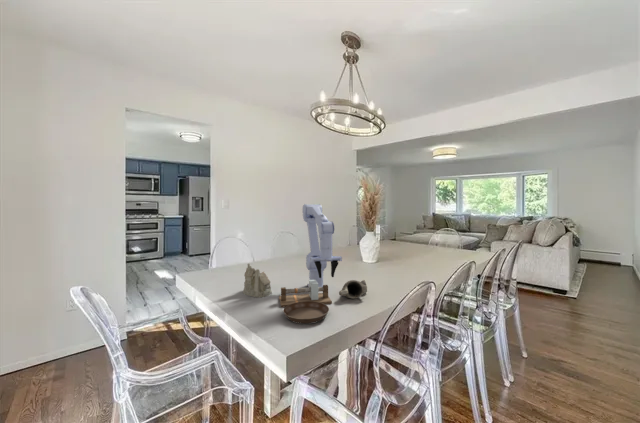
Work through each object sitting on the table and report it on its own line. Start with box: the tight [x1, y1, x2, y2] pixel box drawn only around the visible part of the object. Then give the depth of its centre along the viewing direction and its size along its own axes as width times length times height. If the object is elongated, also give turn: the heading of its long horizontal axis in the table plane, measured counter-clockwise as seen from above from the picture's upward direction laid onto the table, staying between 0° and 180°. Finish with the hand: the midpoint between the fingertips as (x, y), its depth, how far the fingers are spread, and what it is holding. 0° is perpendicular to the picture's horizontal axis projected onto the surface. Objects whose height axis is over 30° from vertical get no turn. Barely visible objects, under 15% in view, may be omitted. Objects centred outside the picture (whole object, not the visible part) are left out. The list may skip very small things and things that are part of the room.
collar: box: [308, 279, 319, 300], centre depth 128 cm, size 7×3×7 cm, turn 12°
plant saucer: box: [282, 301, 330, 325], centre depth 110 cm, size 18×18×3 cm
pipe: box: [338, 279, 368, 300], centre depth 134 cm, size 16×9×15 cm
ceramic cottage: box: [242, 262, 273, 299], centre depth 141 cm, size 16×16×15 cm
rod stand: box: [278, 284, 333, 308], centre depth 127 cm, size 12×22×6 cm, turn 102°
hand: (326, 277), depth 132 cm, fingers open, 5 cm apart
